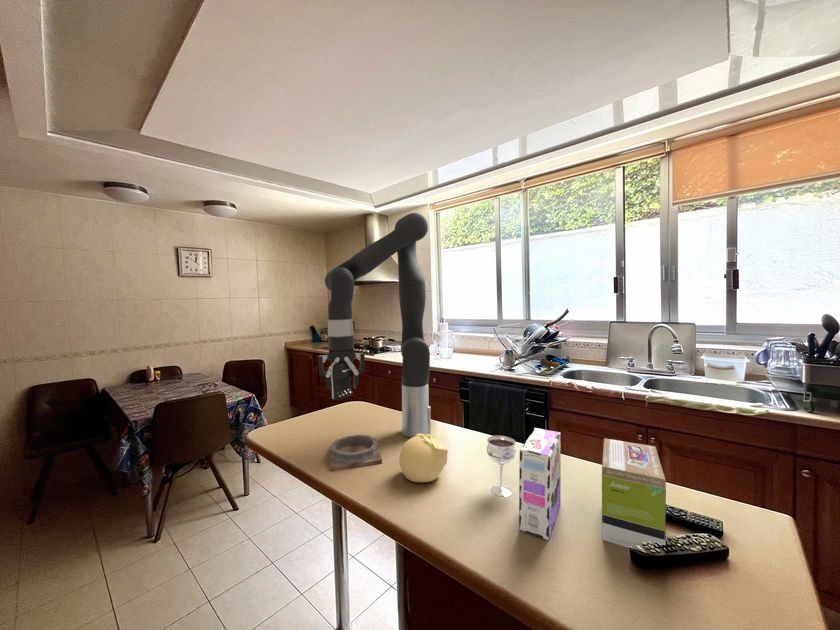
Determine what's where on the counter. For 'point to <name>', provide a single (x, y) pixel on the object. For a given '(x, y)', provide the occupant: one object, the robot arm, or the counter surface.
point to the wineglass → (501, 459)
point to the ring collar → (354, 452)
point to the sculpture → (423, 458)
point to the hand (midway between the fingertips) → (342, 387)
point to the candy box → (540, 482)
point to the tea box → (632, 494)
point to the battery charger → (341, 380)
